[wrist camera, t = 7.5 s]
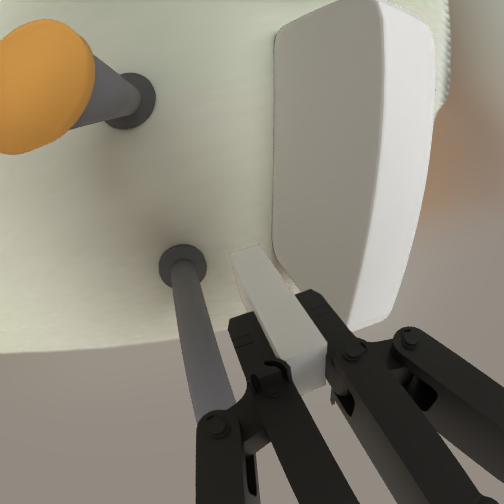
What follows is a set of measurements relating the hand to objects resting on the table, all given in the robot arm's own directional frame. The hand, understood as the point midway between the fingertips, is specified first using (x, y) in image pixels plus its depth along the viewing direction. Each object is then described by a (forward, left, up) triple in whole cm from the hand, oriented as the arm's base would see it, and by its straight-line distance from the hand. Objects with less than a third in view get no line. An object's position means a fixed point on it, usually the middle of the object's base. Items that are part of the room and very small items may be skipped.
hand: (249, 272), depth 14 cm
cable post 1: (-11, -5, -20) cm, 23 cm away
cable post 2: (+10, -5, -20) cm, 23 cm away
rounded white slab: (-1, +12, -20) cm, 24 cm away
